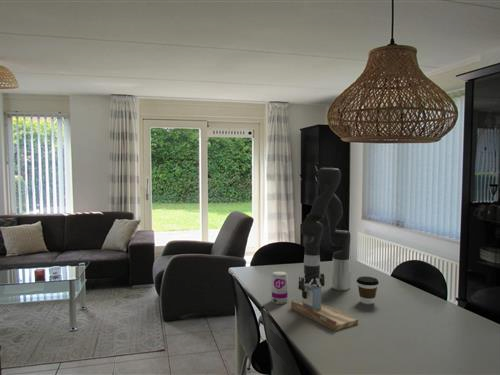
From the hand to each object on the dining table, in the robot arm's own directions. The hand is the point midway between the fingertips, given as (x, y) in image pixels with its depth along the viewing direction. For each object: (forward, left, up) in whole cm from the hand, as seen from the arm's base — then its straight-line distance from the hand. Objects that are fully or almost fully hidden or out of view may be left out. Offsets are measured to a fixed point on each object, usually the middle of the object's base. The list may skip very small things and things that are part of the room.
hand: (311, 296), depth 189 cm
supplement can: (+5, -19, -7) cm, 21 cm away
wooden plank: (-1, +7, -7) cm, 10 cm away
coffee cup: (-33, +5, -7) cm, 34 cm away
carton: (0, 0, -5) cm, 5 cm away
